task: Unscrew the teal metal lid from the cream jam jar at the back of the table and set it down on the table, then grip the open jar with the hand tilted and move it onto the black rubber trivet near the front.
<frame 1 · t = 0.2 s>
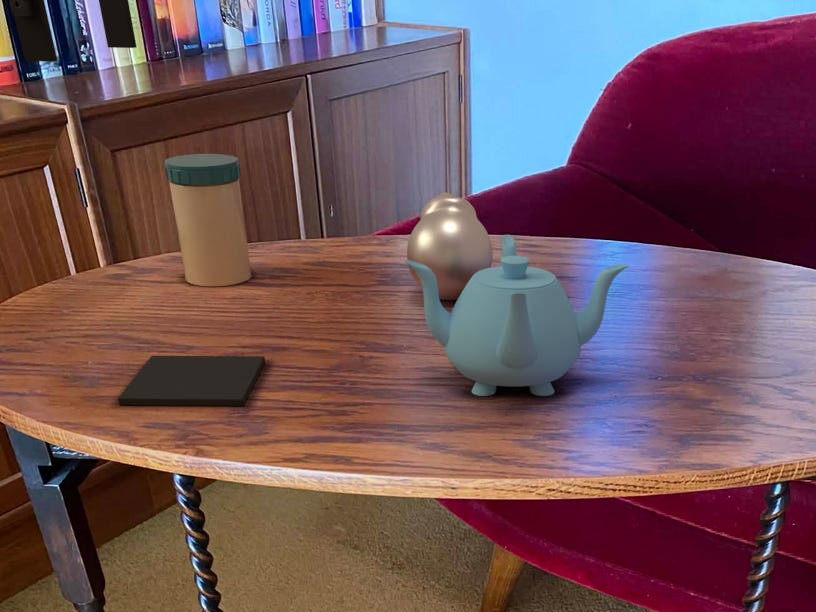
hand: (84, 54, 90), 22 cm above the table, tool pointing down, fingers open, 13 cm apart
jar lid: (202, 164, 100), point 11 cm above the table, screwed on, not yet turned
jar: (218, 277, 107), on the table
trivet: (195, 382, 81), on the table
shiny gold rounded piece: (450, 299, 102), on the table
teapot: (513, 382, 82), on the table
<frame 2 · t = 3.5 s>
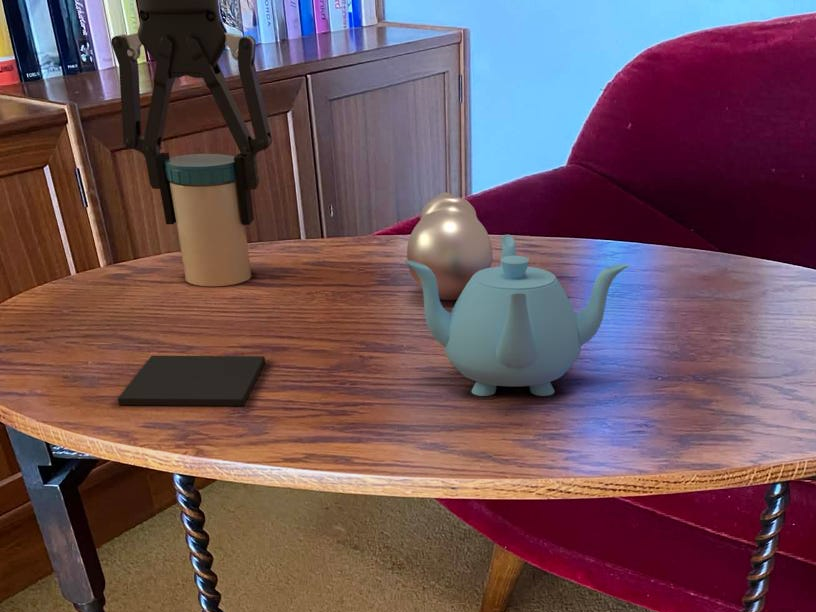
hand: (210, 221, 104), 6 cm above the table, tool pointing down, fingers closed on jar lid, 7 cm apart
jar lid: (202, 164, 100), point 11 cm above the table, screwed on, not yet turned, touching gripper
everything else where it was.
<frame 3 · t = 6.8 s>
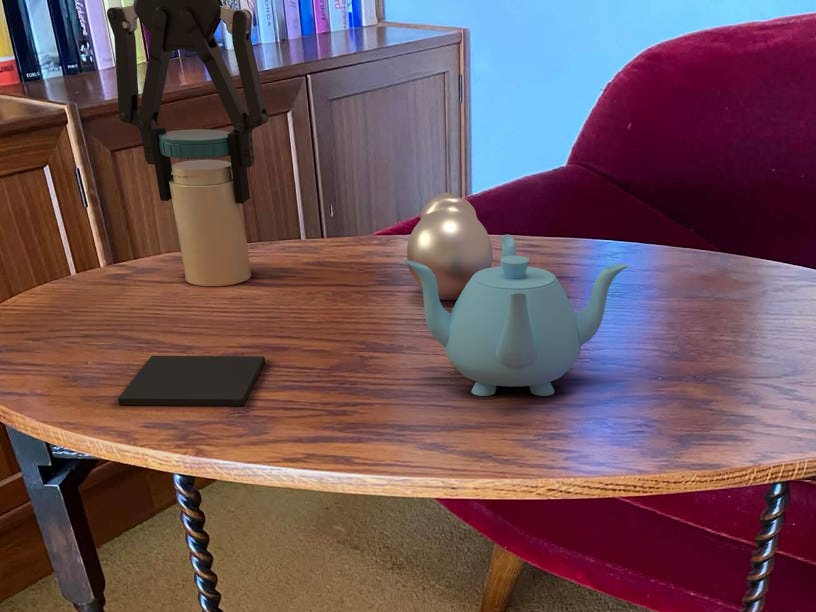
hand: (205, 199, 102), 8 cm above the table, tool pointing down, fingers closed on jar lid, 7 cm apart
jar lid: (197, 138, 99), point 14 cm above the table, off its thread, touching gripper
everything else where it was.
when the fingers open (4 cm above the table, at t = 33.5 s): jar lid stays where it is, point 1 cm above the table.
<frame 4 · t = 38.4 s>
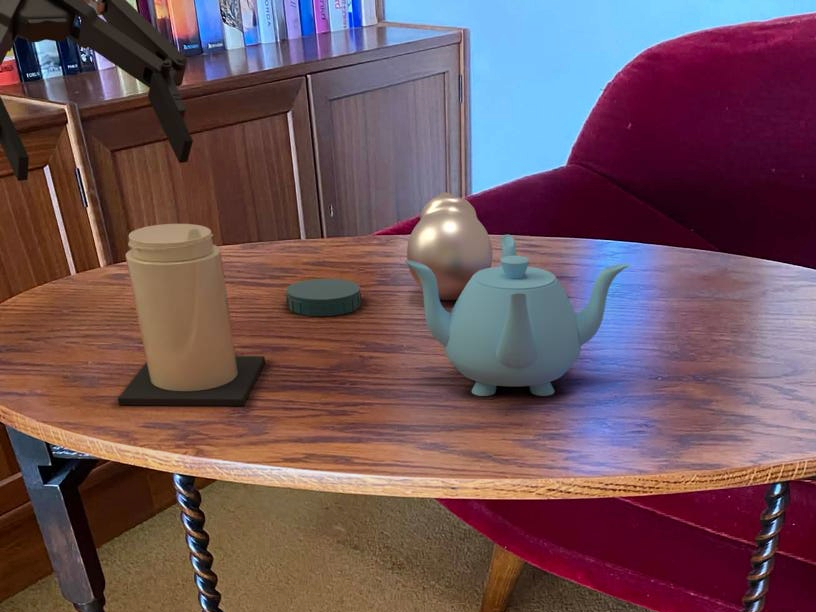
hand: (108, 160, 79), 16 cm above the table, tool tilted 45°, fingers open, 13 cm apart
jar lid: (323, 292, 98), point 1 cm above the table, off its thread
jar: (194, 375, 81), point 1 cm above the table, touching trivet
everything else where it was.
at the end: jar lid point 1.3 cm above the table; jar inside the target area on the trivet (0.0 cm from its centre), point 0.6 cm above the trivet's base; jar tilted 0° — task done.
